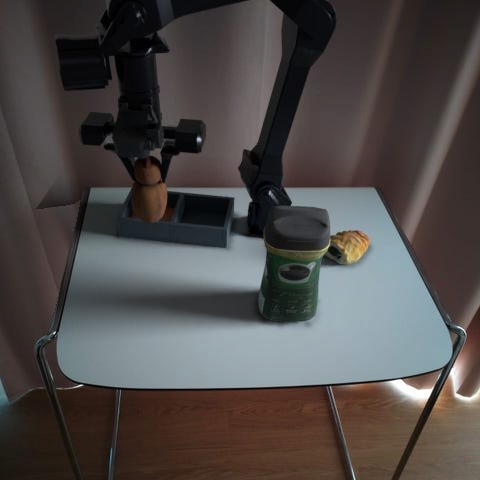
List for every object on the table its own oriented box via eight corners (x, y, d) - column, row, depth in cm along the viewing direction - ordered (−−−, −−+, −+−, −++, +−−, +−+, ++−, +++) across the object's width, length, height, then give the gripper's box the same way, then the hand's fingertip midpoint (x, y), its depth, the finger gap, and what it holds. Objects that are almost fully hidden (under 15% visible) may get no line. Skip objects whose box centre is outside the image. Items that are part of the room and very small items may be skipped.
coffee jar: (313, 291, 84) (332, 198, 71) (317, 326, 79) (338, 232, 65) (257, 289, 84) (265, 195, 71) (256, 323, 79) (265, 228, 65)
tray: (234, 214, 99) (234, 197, 96) (226, 247, 92) (227, 230, 89) (133, 204, 100) (131, 187, 97) (119, 236, 93) (116, 218, 90)
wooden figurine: (161, 230, 85) (159, 152, 74) (128, 225, 86) (121, 145, 74) (171, 207, 90) (170, 130, 79) (140, 202, 90) (134, 124, 79)
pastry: (349, 232, 96) (353, 216, 93) (377, 250, 93) (382, 233, 90) (317, 252, 92) (320, 236, 89) (345, 271, 88) (350, 254, 86)
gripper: (55, 104, 66) (79, 203, 77) (193, 114, 65) (197, 213, 77) (81, 72, 73) (99, 167, 85) (205, 81, 73) (207, 175, 84)
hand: (149, 181), depth 82 cm, fingers closed on wooden figurine, 4 cm apart
